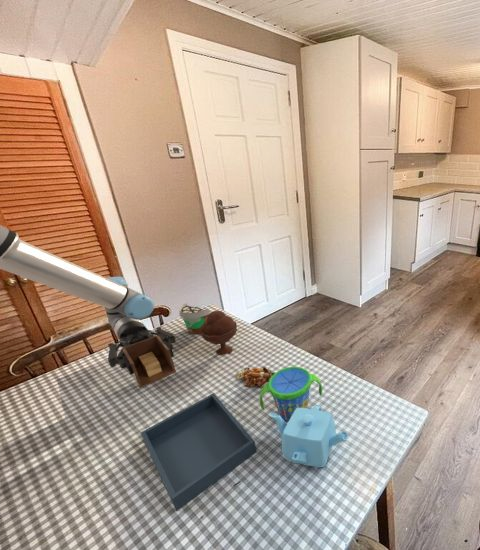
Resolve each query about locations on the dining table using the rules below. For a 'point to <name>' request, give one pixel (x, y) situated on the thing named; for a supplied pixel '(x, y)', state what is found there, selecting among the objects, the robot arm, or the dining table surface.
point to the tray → (197, 448)
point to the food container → (194, 318)
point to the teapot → (308, 436)
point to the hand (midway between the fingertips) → (152, 361)
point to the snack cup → (290, 390)
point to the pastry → (255, 376)
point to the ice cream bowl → (219, 331)
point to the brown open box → (160, 353)
